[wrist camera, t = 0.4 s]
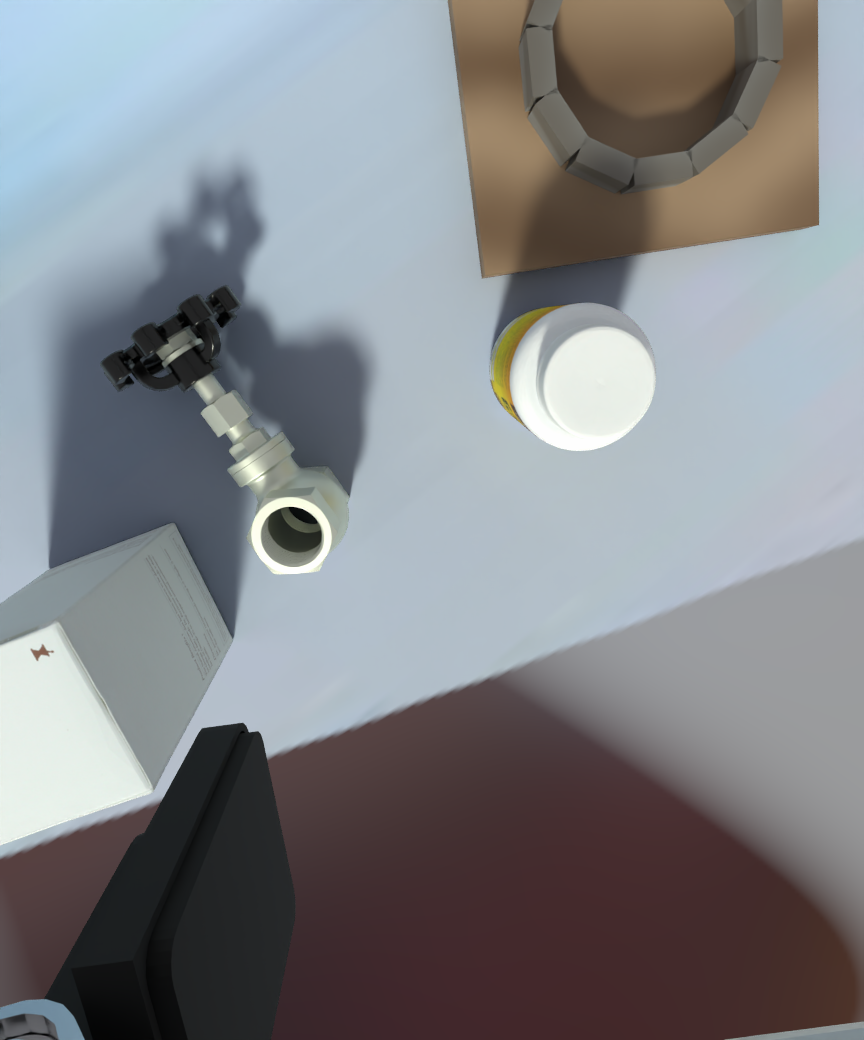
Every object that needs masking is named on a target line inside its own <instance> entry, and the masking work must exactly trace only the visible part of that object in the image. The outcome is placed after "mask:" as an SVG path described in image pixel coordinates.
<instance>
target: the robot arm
mask: <svg viewBox="0 0 864 1040" xmlns="http://www.w3.org/2000/svg"><path fill="white" fill-rule="evenodd" d="M294 921H295V894H294V888H293V883H292V878H291V874H290V868H289V864H288V859H287V854H286V849H285V844H284V840H283V835H282V830H281V826H280V821H279V816H278V811H277V806H276V801H275V796H274V791H273V787H272V782H271V777H270V773H269V768H268V763H267V758H266V753H265V748H264V743H263V740H262V736H261V734H260V733H259V732H258V731H257V732H250V733H249V732H248V729H247V727H246V725H245V724H244V723H238V724H231V725H223V726H216V727H208V728H202V729H201V731H200V732H199V734H198V735H197V737H196V739H195V741H194V743H193V745H192V746H191V748H190V750H189V752H188V754H187V756H186V757H185V759H184V761H183V763H182V765H181V767H180V768H179V770H178V772H177V774H176V776H175V778H174V780H173V781H172V783H171V785H170V787H169V789H168V791H167V792H166V794H165V796H164V798H163V800H162V802H161V803H160V805H159V807H158V809H157V811H156V813H155V815H154V816H153V818H152V820H151V822H150V824H149V826H148V827H147V829H146V831H145V833H142V834H140V835H138V836H137V837H136V838H135V839H134V840H133V842H132V843H131V845H130V846H129V848H128V850H127V852H126V854H125V855H124V857H123V859H122V860H121V862H120V864H119V866H118V868H117V869H116V871H115V873H114V875H113V877H112V879H111V880H110V882H109V884H108V886H107V887H106V889H105V891H104V893H103V895H102V896H101V898H100V900H99V902H98V903H97V905H96V907H95V909H94V911H93V913H92V914H91V916H90V918H89V920H88V921H87V923H86V925H85V927H84V928H83V930H82V932H81V934H80V936H79V937H78V939H77V941H76V943H75V945H74V946H73V948H72V950H71V952H70V954H69V955H68V957H67V959H66V961H65V963H64V964H63V966H62V968H61V970H60V972H59V973H58V975H57V977H56V979H55V980H54V982H53V984H52V986H51V988H50V989H49V991H48V993H47V995H46V996H45V998H44V999H43V1000H24V1001H21V1002H18V1003H15V1004H11V1005H8V1006H5V1007H1V1008H0V1040H271V1036H272V1031H273V1026H274V1021H275V1016H276V1011H277V1006H278V1001H279V996H280V991H281V986H282V981H283V976H284V971H285V966H286V961H287V956H288V951H289V946H290V941H291V936H292V931H293V926H294ZM727 1040H864V1022H858V1023H851V1024H843V1025H834V1026H827V1027H820V1028H811V1029H804V1030H796V1031H788V1032H781V1033H773V1034H766V1035H758V1036H750V1037H743V1038H735V1039H727Z"/></svg>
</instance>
